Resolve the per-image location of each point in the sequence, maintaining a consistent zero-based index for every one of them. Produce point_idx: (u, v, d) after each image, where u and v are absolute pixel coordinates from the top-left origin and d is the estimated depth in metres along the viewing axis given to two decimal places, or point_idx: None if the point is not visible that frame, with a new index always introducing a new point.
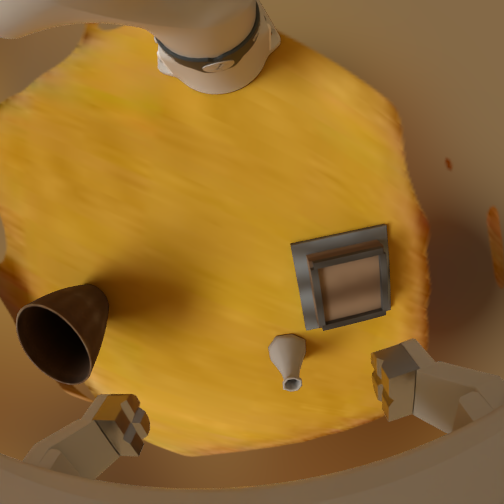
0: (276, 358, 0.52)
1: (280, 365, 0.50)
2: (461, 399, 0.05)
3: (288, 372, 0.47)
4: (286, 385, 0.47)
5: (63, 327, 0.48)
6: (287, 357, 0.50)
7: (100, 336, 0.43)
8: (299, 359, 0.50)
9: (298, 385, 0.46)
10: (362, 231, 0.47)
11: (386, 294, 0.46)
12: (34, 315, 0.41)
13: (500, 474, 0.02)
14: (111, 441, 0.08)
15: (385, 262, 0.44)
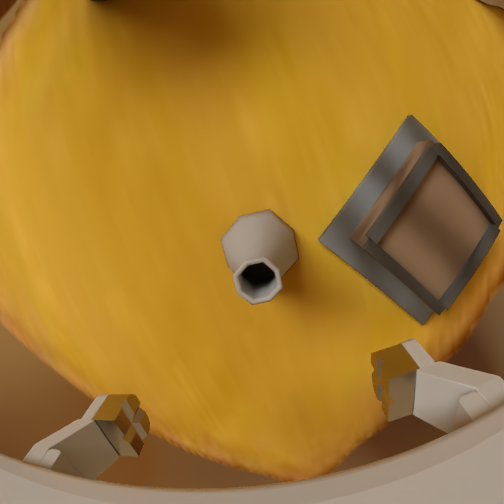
0: (247, 232, 0.26)
1: (250, 243, 0.24)
2: (461, 399, 0.05)
3: (265, 257, 0.22)
4: (240, 277, 0.21)
5: None
6: (272, 241, 0.25)
7: None
8: (284, 265, 0.25)
9: (262, 296, 0.21)
10: None
11: (463, 285, 0.25)
12: None
13: (500, 474, 0.02)
14: (111, 441, 0.08)
15: (492, 240, 0.24)
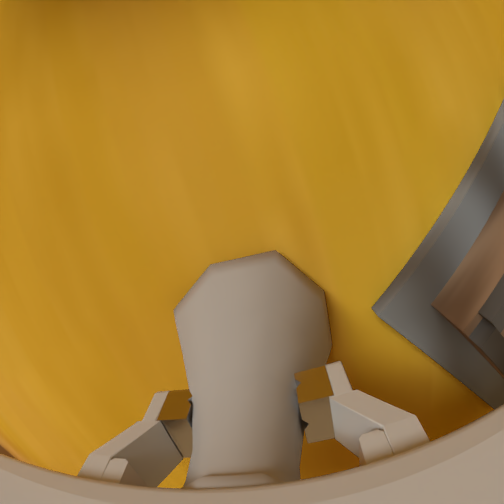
0: (222, 319, 0.10)
1: (225, 362, 0.08)
2: (362, 437, 0.05)
3: (266, 436, 0.06)
4: None
5: None
6: (286, 351, 0.09)
7: None
8: None
9: None
10: None
11: None
12: None
13: (500, 474, 0.02)
14: (177, 442, 0.08)
15: None
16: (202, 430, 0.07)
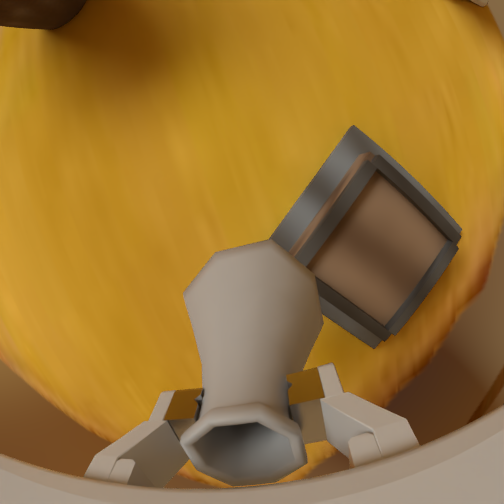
0: (226, 295, 0.12)
1: (229, 327, 0.11)
2: (351, 440, 0.05)
3: (264, 381, 0.08)
4: None
5: None
6: (279, 319, 0.11)
7: None
8: (302, 363, 0.11)
9: (256, 470, 0.07)
10: (438, 204, 0.26)
11: (413, 309, 0.25)
12: None
13: (500, 474, 0.02)
14: None
15: (449, 259, 0.24)
16: (211, 381, 0.09)
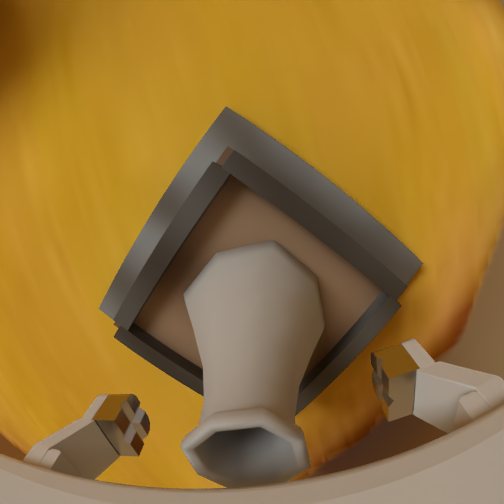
0: (227, 296, 0.12)
1: (231, 329, 0.10)
2: (461, 399, 0.05)
3: (266, 384, 0.08)
4: None
5: None
6: (281, 321, 0.11)
7: None
8: (305, 366, 0.11)
9: (258, 474, 0.07)
10: (379, 225, 0.18)
11: (312, 394, 0.16)
12: None
13: (500, 474, 0.02)
14: (111, 441, 0.08)
15: (381, 324, 0.15)
16: (212, 384, 0.09)
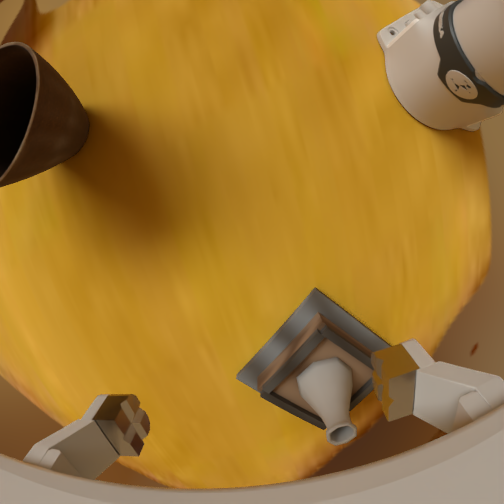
0: (324, 384, 0.31)
1: (329, 398, 0.30)
2: (461, 399, 0.05)
3: (344, 414, 0.27)
4: None
5: (15, 122, 0.27)
6: (344, 393, 0.30)
7: (41, 166, 0.24)
8: (349, 405, 0.30)
9: (341, 439, 0.26)
10: (379, 339, 0.37)
11: None
12: (10, 72, 0.21)
13: (500, 474, 0.02)
14: (111, 441, 0.08)
15: None
16: (327, 415, 0.28)
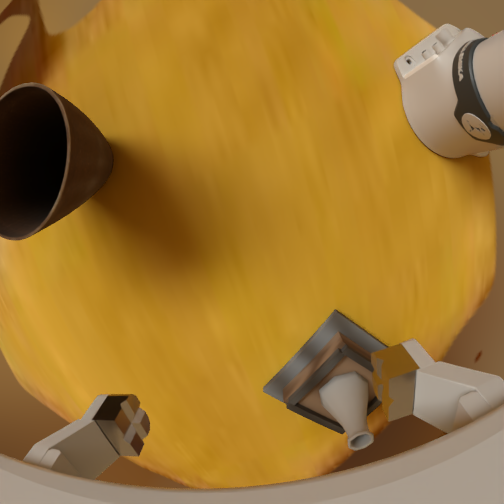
0: (345, 397, 0.34)
1: (349, 409, 0.32)
2: (461, 399, 0.05)
3: (363, 423, 0.30)
4: None
5: (37, 156, 0.30)
6: (362, 404, 0.33)
7: (73, 208, 0.27)
8: (366, 414, 0.33)
9: (360, 445, 0.29)
10: None
11: None
12: (29, 108, 0.24)
13: (500, 474, 0.02)
14: (111, 441, 0.08)
15: None
16: (348, 425, 0.31)
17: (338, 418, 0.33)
